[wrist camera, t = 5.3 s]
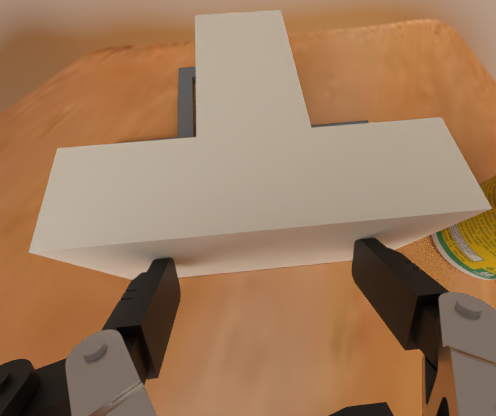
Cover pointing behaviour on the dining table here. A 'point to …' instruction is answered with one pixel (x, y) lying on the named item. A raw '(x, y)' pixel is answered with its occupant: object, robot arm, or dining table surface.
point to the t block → (252, 175)
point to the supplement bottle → (472, 240)
